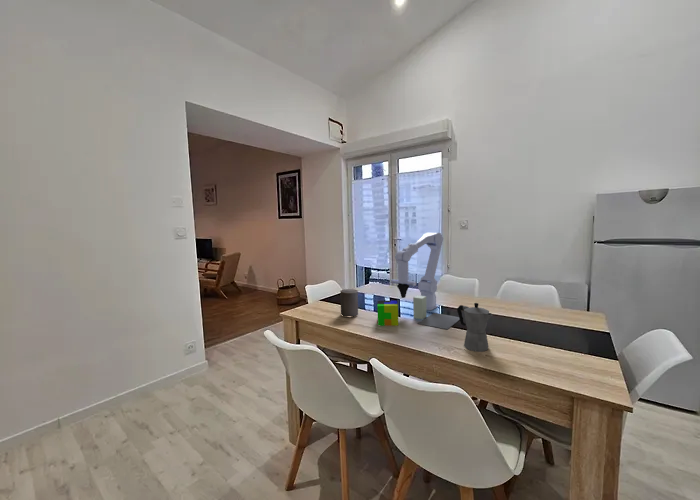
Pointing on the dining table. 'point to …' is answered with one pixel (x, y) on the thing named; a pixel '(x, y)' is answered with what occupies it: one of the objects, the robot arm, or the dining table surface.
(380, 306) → the puzzle toy
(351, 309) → the pillar candle
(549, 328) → the dining table surface
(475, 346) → the coffeepot
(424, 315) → the tall block
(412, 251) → the robot arm
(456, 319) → the mat
